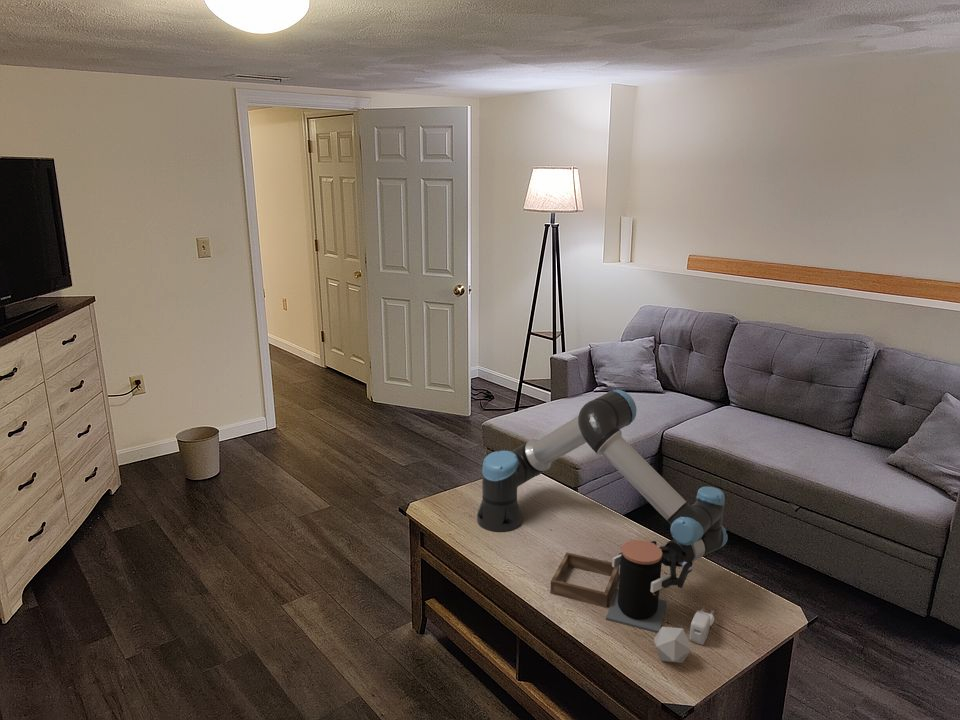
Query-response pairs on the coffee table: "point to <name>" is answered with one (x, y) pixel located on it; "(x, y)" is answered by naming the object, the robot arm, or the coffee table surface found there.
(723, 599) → the coffee table surface
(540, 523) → the coffee table surface
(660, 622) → the rubber mat
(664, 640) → the die
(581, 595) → the walnut crate
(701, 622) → the power adapter
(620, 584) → the coffee jar
